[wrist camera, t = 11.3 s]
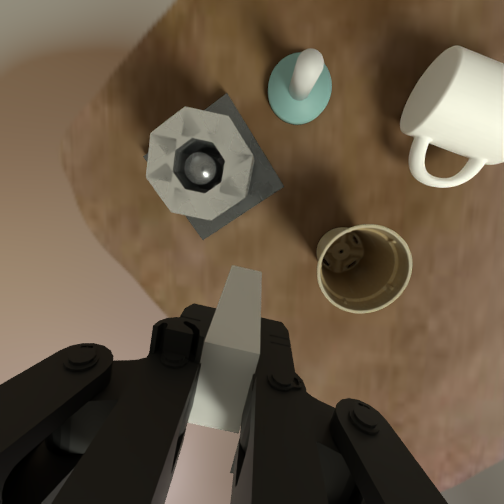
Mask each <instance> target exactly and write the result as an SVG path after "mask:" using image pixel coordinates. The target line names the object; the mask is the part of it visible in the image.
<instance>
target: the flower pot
mask: <svg viewBox="0 0 504 504" xmlns="http://www.w3.org/2000/svg"><path fill="white" fill-rule="evenodd" d="M353 236H354V237H355V238H356V239H357V240H358V243H356V242H355V241H353V240H354V239H353ZM340 250H342V251H343V252H342V253H340ZM323 258H325V260H326V261H327V262H328V263H329V265H326V264H325V263H324V262H323V261H322V259H323ZM317 259H318V264H317V278H318V283H319V286H320V289H321V291H322V292H323V294H324V296H325V297H326V298H327V299H328V300H329V301H330V302H331V303H332V304H333V305H334V306H336V307H338V308H340V309H342V310H344V311H348V312H352V313H370V312H374V311H378V310H380V309H382V308H384V307H386V306H388V305H390V304H391V303H392V302H393V301H395V300H396V299H397V298H398V297H399V296H400V295H401V293H402V292H403V291H404V289H405V288H406V286H407V284H408V282H409V280H410V276H411V272H412V257H411V252H410V250H409V248H408V245H407V244H406V242H405V241H404V240H403V239H402V238H401V237H400V236H399V235H398V234H397V233H396V232H394V231H393V230H391V229H389V228H386V227H384V226H380V225H375V224H362V225H357V226H353V227H350V228H346V227H340V228H335V229H332V230H330V231H328V232H327V233H326V234H325V235H324V236H323V237H322V238H321V239H320V241H319V243H318V246H317ZM354 261H355V262H356V263H355V264H354V265H353V266H352V267H350V268H347V266H349V265H350V264H351V263H353V262H354Z"/></svg>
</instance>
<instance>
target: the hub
mask: <svg viewBox="0 0 504 504" xmlns="http://www.w3.org/2000/svg"><path fill="white" fill-rule="evenodd" d="M204 111H208V112H213V113H217V114H222V115H226V116H229V117H230V119H231V120H232V122H233V124H234V125H235V127H236V129H237V130H238V132H239V133H240V135H241V137H242V138H243V140H244V141H245V143H246V145H247V146H248V148H249V149H250V151H251V153H252V154H253V157H254V160H255V161H254V166H253V171H252V176H251V181H250V186H249V191H248V195H247V196H246V197H245V198H244V199H243V200H241V201H240V202H238V203H237V204H235V205H234V206H232V207H231V208H229V209H228V210H226V211H225V212H223V213H222V214H220V215H219V216H217V217H216V218H214V219H213V220H211V221H210V220H206V219H201V218H196V217H191V216H187V215H185V216H186V217H187V219H188V220H189V221H190V223H191V224H192V226H193V227H194V228H195V230H196V231H197V233H198V234H199V235H200V237H201V238H202V240H204V239H205V238H207V237H208V236H210V235H211V234H213V233H214V232H216V231H217V230H219V229H220V228H222V227H224V226H225V225H227V224H228V223H230V222H231V221H233V220H234V219H236V218H237V217H239V216H240V215H242V214H243V213H245V212H246V211H248V210H249V209H251V208H252V207H254V206H255V205H257V204H258V203H260V202H261V201H263V200H264V199H266V198H267V197H269V196H270V195H272V194H273V193H275V192H277V191H278V190H280V189H281V188H283V187H284V186H283V184H282V182H281V181H280V179H279V177H278V176H277V174H276V173H275V171H274V169H273V168H272V166H271V164H270V163H269V161H268V159H267V158H266V156H265V155H264V153H263V151H262V150H261V148H260V146H259V145H258V143H257V141H256V140H255V138H254V137H253V135H252V133H251V132H250V130H249V128H248V127H247V125H246V123H245V122H244V120H243V119H242V117H241V115H240V114H239V112H238V110H237V109H236V107H235V105H234V104H233V102H232V101H231V99H230V97H229V96H228V94H227V93H226V94H225V95H224V96H222V97H221V98H220V99H218V100H217V101H216V102H214V103H213V104H212V105H210V106H209V107H208V108H207V109H205V110H204ZM143 157H144V158H145V160H146V161H147V162H148V153H147V154H146V155H144V156H143ZM224 164H225V160H224V159H223V157H222V155H221V154H220V152H219V151H218V149H216V148H211V147H204V148H203V149H202V150H200V151H199V152H197V153H193V154H191V155H190V156H189V157H188V158H187V160H186V162H185V166H184V169H185V174H186V176H187V178H188V179H189V180H190V181H191V182H193V183H195V184H197V185H198V186H199V188H203V189H208V190H211V189H212V188H214V187H215V186H216V185H218V184H219V183H221V181H222V176H223V170H224Z"/></svg>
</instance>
